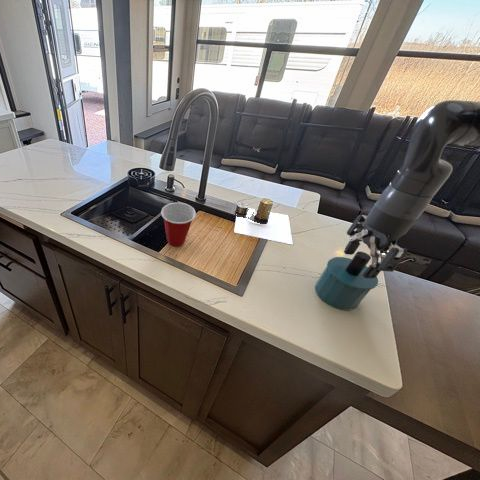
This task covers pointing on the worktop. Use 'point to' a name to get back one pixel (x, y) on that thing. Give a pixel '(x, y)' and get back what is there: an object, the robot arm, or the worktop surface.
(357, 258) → the lid
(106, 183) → the worktop surface
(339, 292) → the canister
